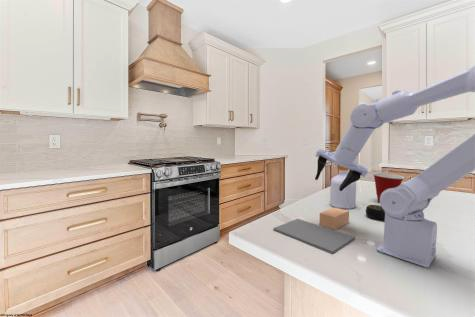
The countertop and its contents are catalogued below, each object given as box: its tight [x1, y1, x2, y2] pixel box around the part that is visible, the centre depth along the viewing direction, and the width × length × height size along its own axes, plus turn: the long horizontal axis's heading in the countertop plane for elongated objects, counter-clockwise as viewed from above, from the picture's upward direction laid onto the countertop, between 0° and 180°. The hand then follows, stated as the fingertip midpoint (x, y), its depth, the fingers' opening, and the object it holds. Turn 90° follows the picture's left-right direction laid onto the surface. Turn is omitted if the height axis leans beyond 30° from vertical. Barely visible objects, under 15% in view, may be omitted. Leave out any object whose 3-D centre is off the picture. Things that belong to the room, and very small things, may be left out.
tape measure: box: [365, 204, 385, 221], centre depth 75 cm, size 7×7×4 cm
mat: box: [272, 218, 356, 255], centre depth 62 cm, size 18×12×1 cm, turn 40°
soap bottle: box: [329, 146, 357, 210], centre depth 88 cm, size 9×9×25 cm
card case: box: [318, 206, 350, 231], centre depth 70 cm, size 5×9×4 cm, turn 130°
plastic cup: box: [372, 172, 405, 204], centre depth 92 cm, size 11×11×12 cm
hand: (328, 183), depth 70 cm, fingers open, 7 cm apart
